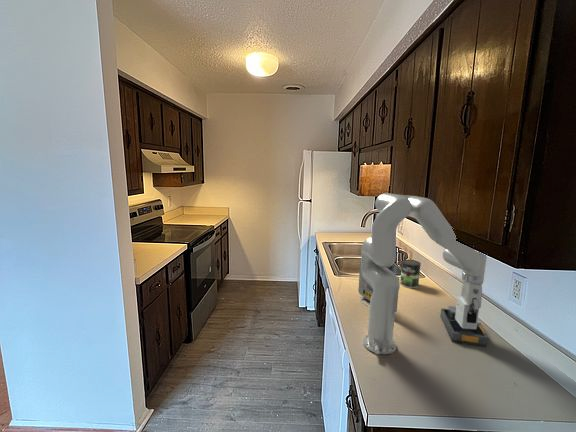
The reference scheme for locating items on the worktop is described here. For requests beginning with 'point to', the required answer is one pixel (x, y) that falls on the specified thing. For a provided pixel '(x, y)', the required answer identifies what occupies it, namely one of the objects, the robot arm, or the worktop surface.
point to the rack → (463, 332)
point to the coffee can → (410, 273)
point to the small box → (464, 314)
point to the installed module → (451, 313)
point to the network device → (367, 289)
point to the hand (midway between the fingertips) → (467, 316)
